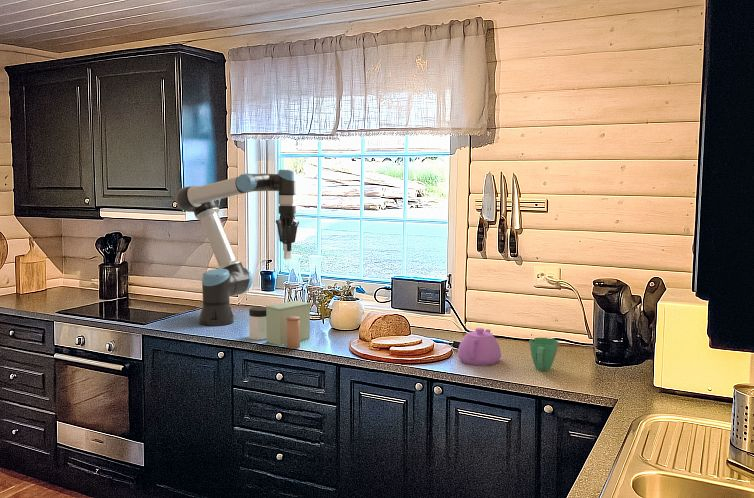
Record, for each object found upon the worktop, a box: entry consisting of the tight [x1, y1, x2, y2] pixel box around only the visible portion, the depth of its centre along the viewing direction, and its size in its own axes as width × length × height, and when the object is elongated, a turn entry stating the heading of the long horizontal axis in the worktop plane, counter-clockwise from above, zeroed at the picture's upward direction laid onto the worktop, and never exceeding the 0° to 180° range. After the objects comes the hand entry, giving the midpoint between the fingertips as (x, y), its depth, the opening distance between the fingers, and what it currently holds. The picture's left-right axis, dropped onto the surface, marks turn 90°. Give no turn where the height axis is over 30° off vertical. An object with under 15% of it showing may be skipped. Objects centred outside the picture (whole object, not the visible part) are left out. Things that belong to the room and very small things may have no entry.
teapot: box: [457, 327, 502, 367], centre depth 252 cm, size 22×16×12 cm
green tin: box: [265, 300, 311, 346], centre depth 279 cm, size 8×16×15 cm, turn 139°
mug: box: [529, 337, 559, 371], centre depth 240 cm, size 15×10×10 cm
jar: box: [248, 306, 267, 341], centre depth 283 cm, size 9×8×12 cm
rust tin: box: [286, 316, 301, 350], centre depth 268 cm, size 5×5×12 cm
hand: (287, 258), depth 306 cm, fingers closed
